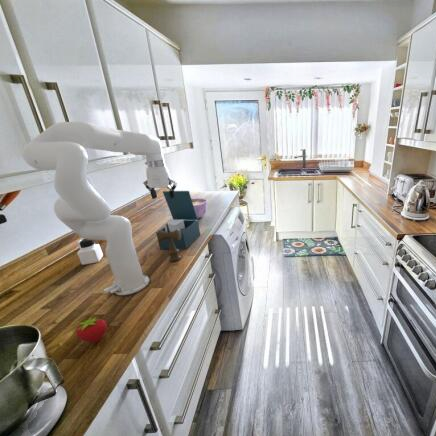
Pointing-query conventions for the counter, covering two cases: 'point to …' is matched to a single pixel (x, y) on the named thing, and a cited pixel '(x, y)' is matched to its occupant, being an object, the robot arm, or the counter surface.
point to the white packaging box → (175, 225)
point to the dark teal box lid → (181, 205)
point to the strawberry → (92, 330)
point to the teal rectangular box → (183, 236)
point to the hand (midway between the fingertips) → (163, 198)
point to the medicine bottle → (89, 251)
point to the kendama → (170, 241)
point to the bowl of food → (200, 206)
